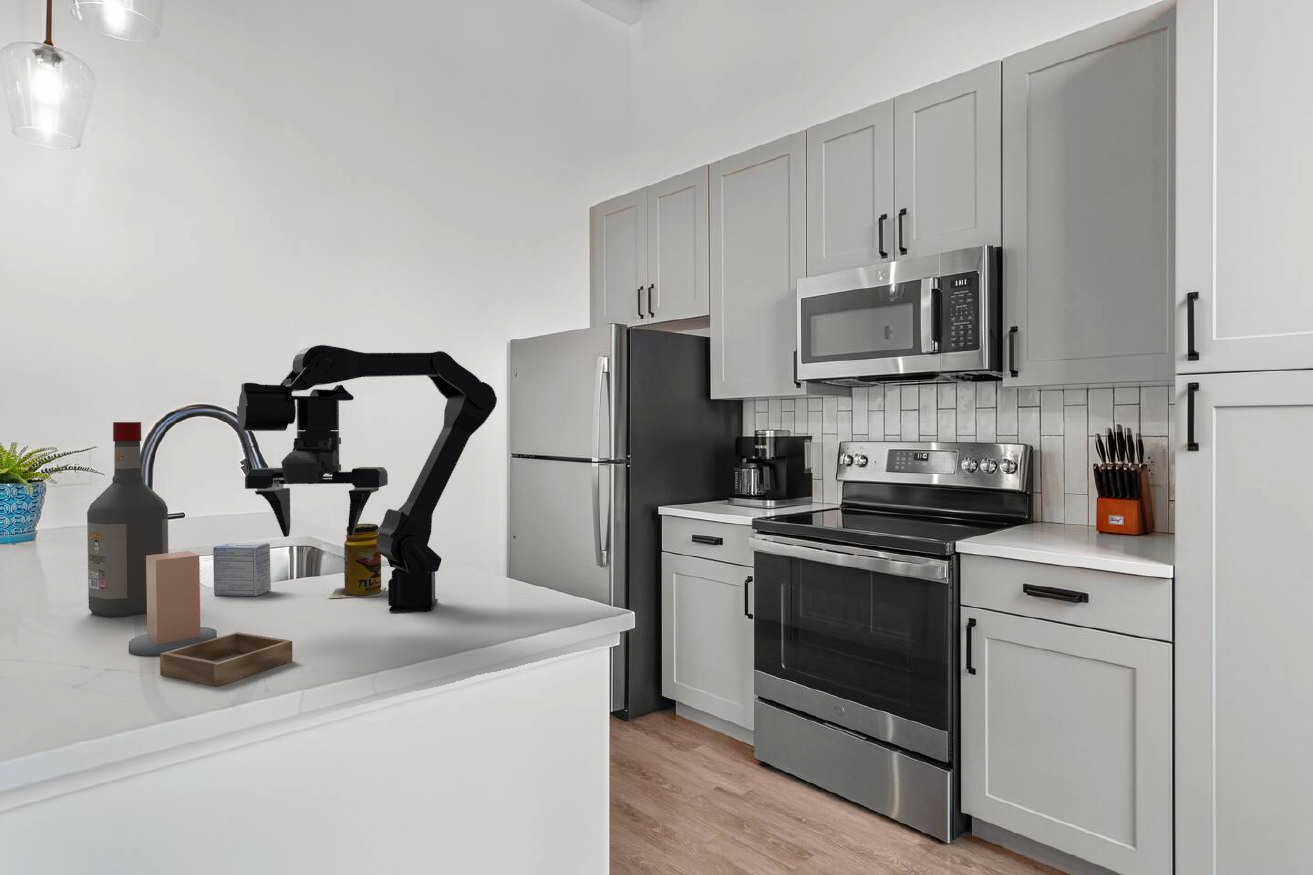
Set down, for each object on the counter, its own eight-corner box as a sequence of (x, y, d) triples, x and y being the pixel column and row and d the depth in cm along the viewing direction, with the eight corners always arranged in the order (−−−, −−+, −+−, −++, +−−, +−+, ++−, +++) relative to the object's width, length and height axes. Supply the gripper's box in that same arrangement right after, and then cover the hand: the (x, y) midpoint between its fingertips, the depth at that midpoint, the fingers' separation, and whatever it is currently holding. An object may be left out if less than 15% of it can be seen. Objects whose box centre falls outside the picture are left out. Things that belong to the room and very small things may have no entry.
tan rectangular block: (189, 629, 105) (188, 550, 105) (200, 636, 101) (199, 555, 101) (147, 636, 101) (146, 555, 101) (157, 644, 98) (155, 560, 98)
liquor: (113, 619, 114) (110, 422, 114) (82, 612, 118) (79, 422, 118) (175, 606, 122) (173, 422, 122) (144, 600, 127) (141, 422, 126)
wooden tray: (237, 651, 98) (236, 632, 98) (292, 660, 94) (292, 640, 94) (160, 674, 89) (159, 653, 89) (217, 686, 85) (217, 664, 85)
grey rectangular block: (271, 591, 134) (271, 542, 133) (255, 597, 129) (255, 546, 129) (230, 590, 134) (229, 542, 134) (212, 596, 130) (212, 546, 130)
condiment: (380, 596, 129) (380, 527, 129) (327, 599, 127) (327, 528, 127) (386, 587, 136) (385, 521, 136) (336, 590, 135) (335, 523, 134)
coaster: (229, 632, 107) (229, 625, 107) (194, 654, 97) (194, 646, 97) (154, 634, 106) (154, 627, 106) (111, 656, 96) (111, 649, 96)
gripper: (226, 431, 103) (227, 545, 103) (368, 431, 105) (369, 543, 105) (260, 430, 114) (261, 533, 114) (388, 430, 116) (388, 532, 116)
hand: (318, 535), depth 112 cm, fingers open, 9 cm apart
